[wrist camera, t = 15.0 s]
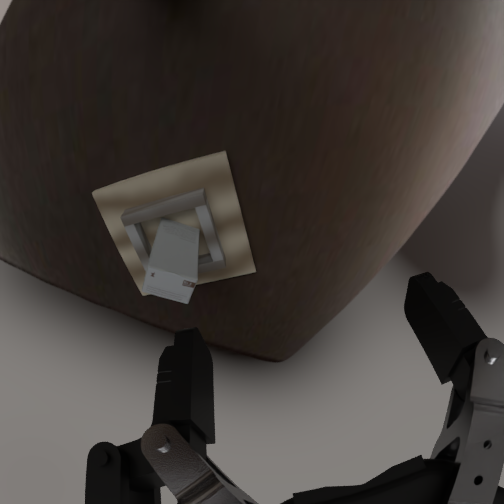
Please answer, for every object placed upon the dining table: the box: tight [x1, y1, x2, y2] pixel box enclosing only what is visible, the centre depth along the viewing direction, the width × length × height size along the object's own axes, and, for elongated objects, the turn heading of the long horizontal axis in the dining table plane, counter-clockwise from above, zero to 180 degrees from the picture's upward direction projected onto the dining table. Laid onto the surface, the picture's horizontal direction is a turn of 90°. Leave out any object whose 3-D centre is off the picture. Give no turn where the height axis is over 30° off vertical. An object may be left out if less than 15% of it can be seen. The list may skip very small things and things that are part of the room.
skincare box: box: [142, 217, 200, 304], centre depth 38 cm, size 6×4×12 cm
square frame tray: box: [92, 151, 256, 296], centre depth 43 cm, size 20×20×4 cm
